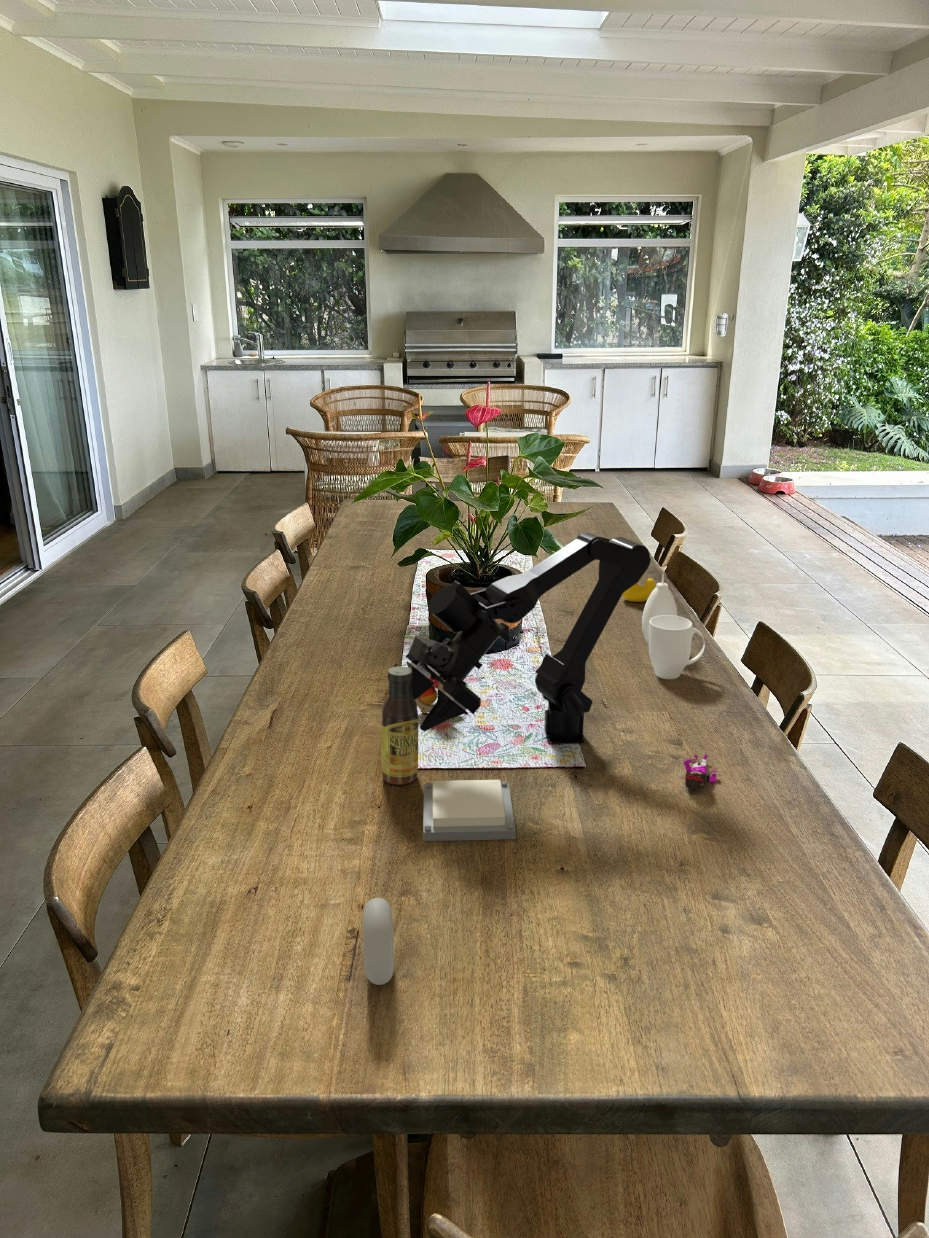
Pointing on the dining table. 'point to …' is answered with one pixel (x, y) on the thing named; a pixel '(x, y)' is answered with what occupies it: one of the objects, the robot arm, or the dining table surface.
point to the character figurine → (698, 773)
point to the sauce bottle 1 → (399, 729)
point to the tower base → (468, 830)
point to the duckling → (640, 591)
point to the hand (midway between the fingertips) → (410, 718)
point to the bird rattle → (429, 697)
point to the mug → (671, 645)
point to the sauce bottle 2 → (658, 605)
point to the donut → (378, 941)
